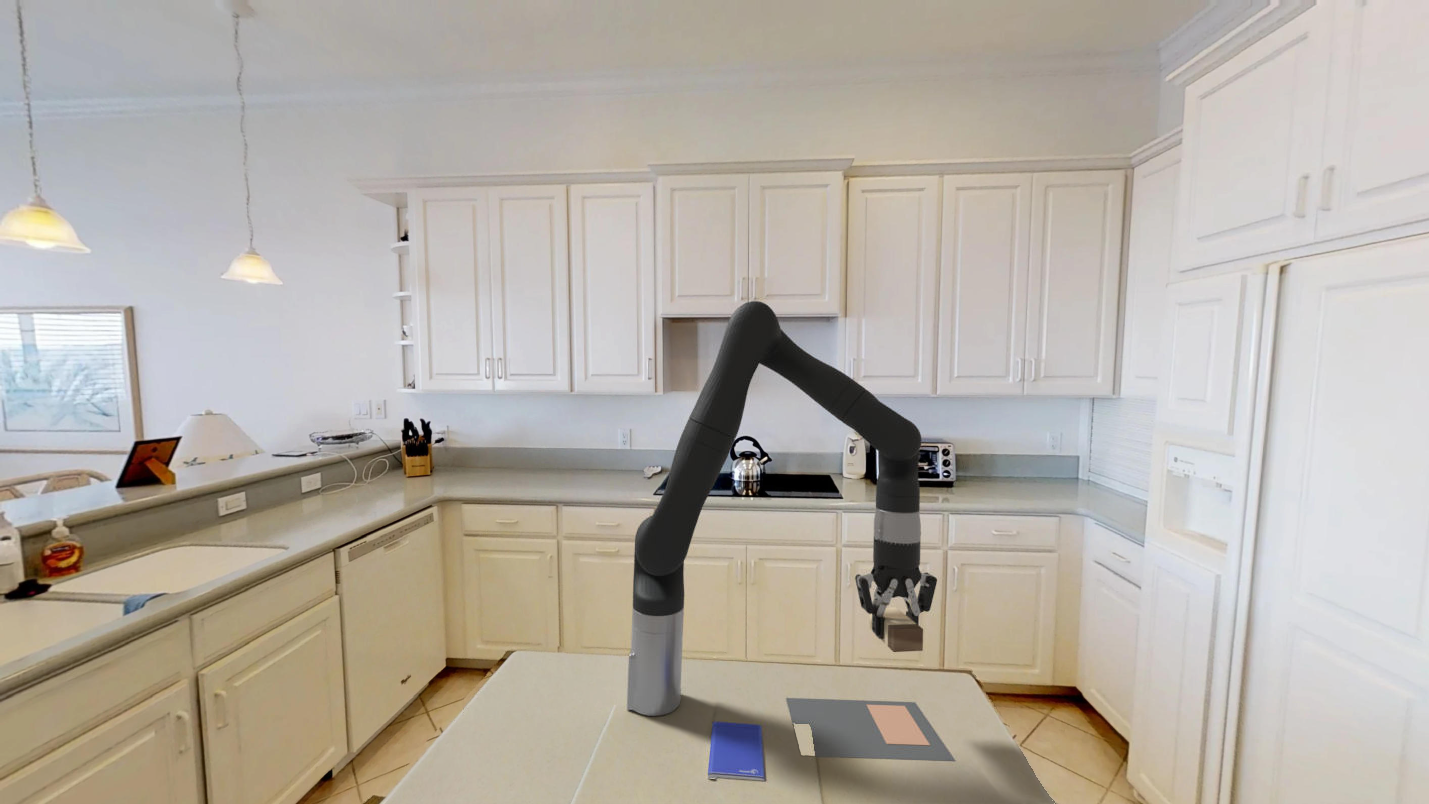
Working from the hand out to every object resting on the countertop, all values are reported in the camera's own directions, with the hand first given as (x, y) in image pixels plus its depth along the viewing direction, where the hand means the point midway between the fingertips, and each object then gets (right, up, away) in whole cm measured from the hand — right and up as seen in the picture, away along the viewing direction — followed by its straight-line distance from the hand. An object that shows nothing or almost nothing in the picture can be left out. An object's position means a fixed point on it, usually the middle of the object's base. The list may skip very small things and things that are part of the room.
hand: (894, 635), depth 89 cm
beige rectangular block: (0, 0, 0) cm, 0 cm away
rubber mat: (-5, -16, 0) cm, 17 cm away
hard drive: (-27, -16, -7) cm, 32 cm away
